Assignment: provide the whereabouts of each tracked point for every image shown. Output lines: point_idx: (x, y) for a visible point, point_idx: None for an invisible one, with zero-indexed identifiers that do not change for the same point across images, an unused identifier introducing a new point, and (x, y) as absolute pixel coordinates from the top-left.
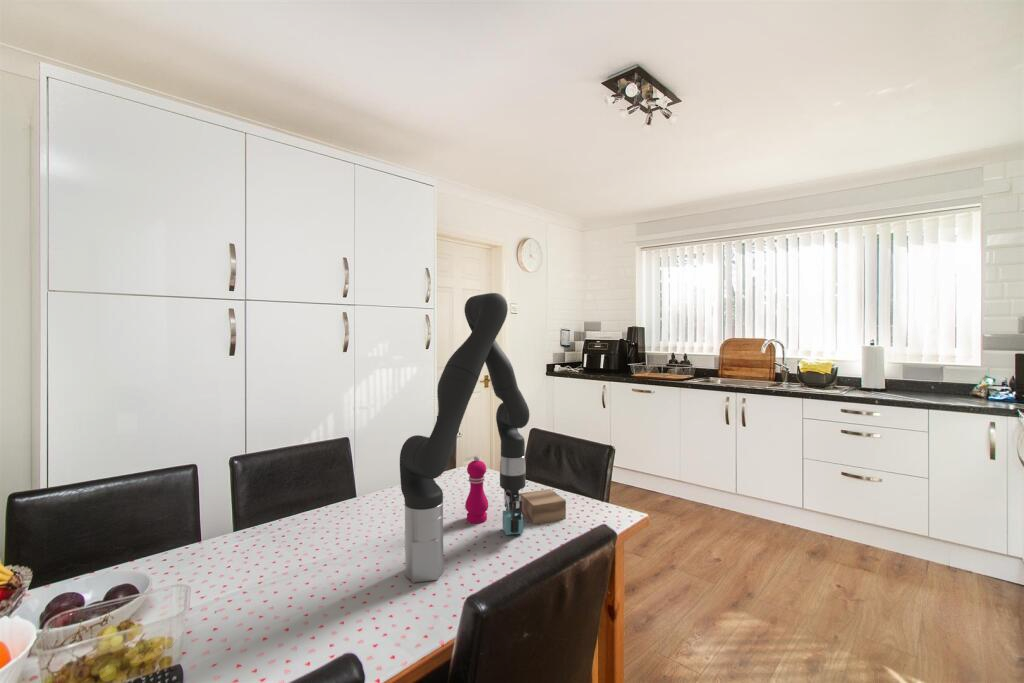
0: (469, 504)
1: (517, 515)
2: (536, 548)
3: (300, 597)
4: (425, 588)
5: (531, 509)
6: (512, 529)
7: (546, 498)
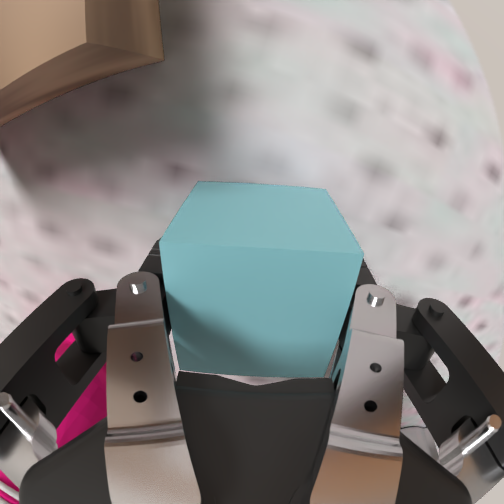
0: None
1: (417, 342)
2: (484, 177)
3: None
4: None
5: (73, 67)
6: None
7: None
